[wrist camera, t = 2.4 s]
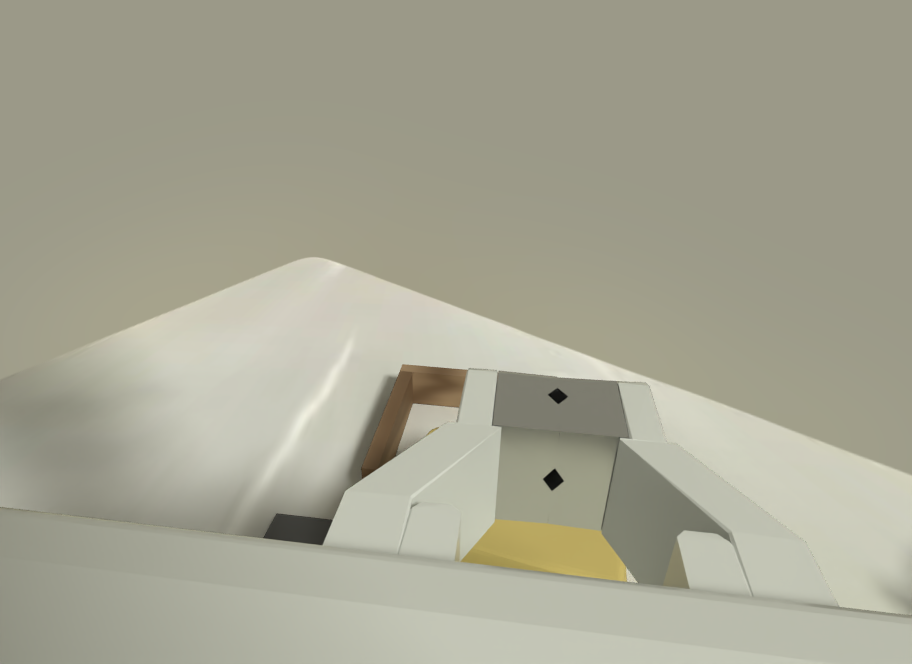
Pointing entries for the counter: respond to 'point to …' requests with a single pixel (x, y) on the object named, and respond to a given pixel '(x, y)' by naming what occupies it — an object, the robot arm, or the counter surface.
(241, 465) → the counter surface
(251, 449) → the counter surface
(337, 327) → the counter surface
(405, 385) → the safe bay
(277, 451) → the counter surface
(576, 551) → the cheese
